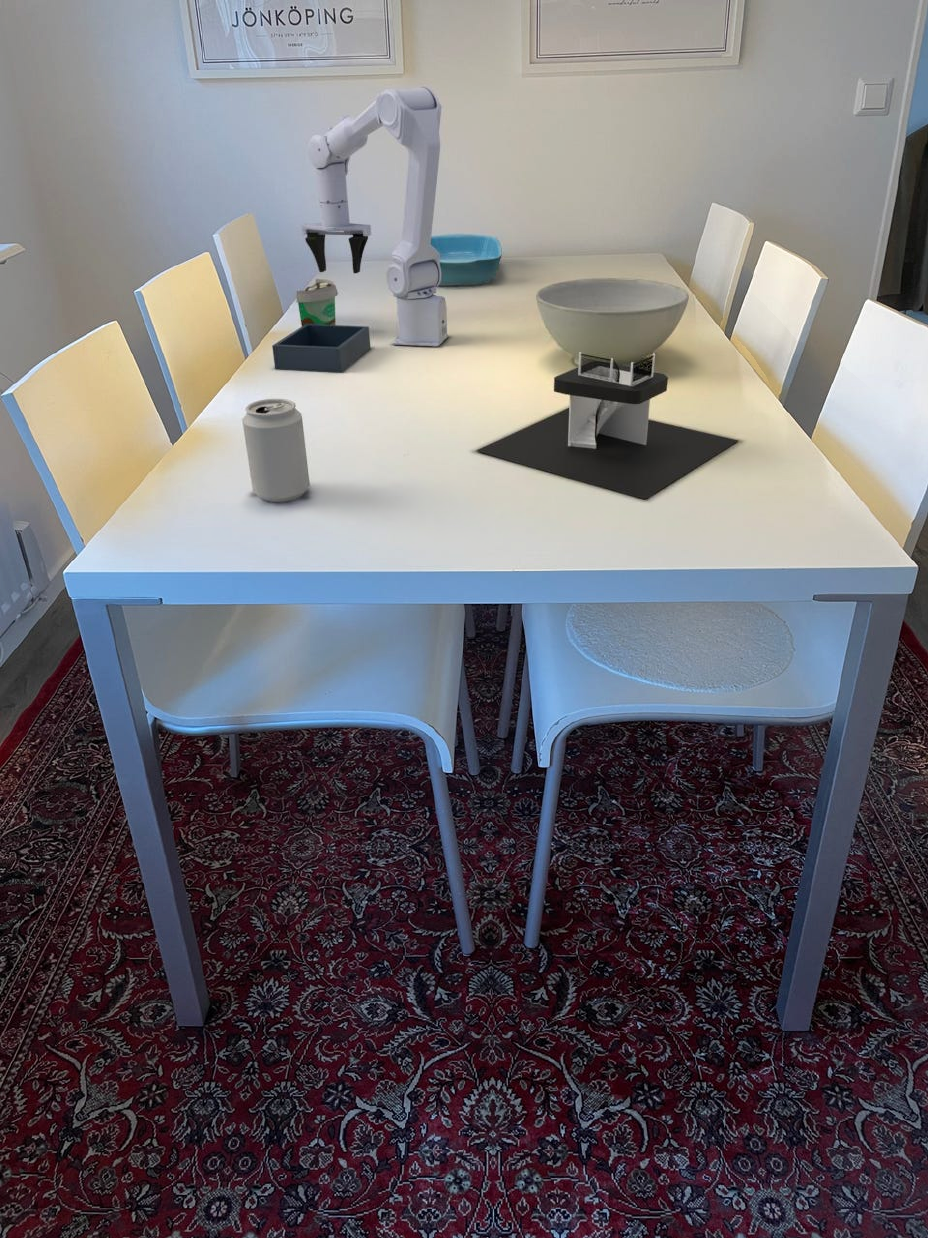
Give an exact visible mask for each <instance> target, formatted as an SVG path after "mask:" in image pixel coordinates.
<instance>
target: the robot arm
mask: <svg viewBox="0 0 928 1238" xmlns="http://www.w3.org/2000/svg"><path fill="white" fill-rule="evenodd" d="M441 114H442V104H441V102H440V100H439V98H437V96H436V93H435V92H434V91H433V89H432V88H430V87H428V86H421V87H414V88H397V89H394V88H386V89H384V90H383V91H382V92H380V93H379V94H376V95H375V99H374V101H373V102H372V103H370V104H369V105H368V107H366V109H364V110H363V111H362V112H361V113H360V114H359V115H358V116H357V117H356V116H352V115H342V116H341V117H339V121H340V122H339V123H337V124H336V125H335V126H333V127H329V128H328V129H327V131H326V133H325V134H324V135H320V134H314V135H312V137H311V138H310V140H309V143H308V148H307V150H308V152H307V153H308V157H309V160H310V163H311V164H312V166H314V167H315V170H316V180H317V190H318V191H317V192H318V201H319V202H318V203H319V211H320V222H319V223H318V222H313V223H310V222H309V223H303V224H300V229H301V235H302V236H306V237H305V238H304V239H305V243H306V244H307V246H308V247H309V249H310V251H311V253H312V255H313V257H314V259H315V263H316V265H317V269H318V272H319V273H324V272H326V271H327V262H326V253H325V252H326V251H325V250H326V249H325V248H326V244H325V243H326V236H350V237H349V238H348V243H349V247H350V252H351V260H352V271H353V274H359V273H360V272H361V266H362V265H361V264H362V259H363V255H364V251H365V247H366V245H367V242H368V240H369V237H370V236H371V235H372V225H371V224H364V223H352V222H350V211H349V199H348V188H347V186H348V185H347V176H348V173H349V163H350V160H351V156H352V155H354V154H355V153H357V152H359V150H361V149H362V148H363V147H365V146H366V144H368V138H369V135H371V134H372V133H374V132H375V131H377V130H378V129H380V128H382V127H384V128H385V129H386V130H387V132H389V133H390V135H392V136H393V138H394V139H395V140H396V141H397V142H398V143H399V144H400V145H402V146H404V147H405V149H406V151H407V152H408V159H407V168H406V169H407V171H406V181H405V184H406V185H405V194H404V195H405V196H404V209H403V218H402V219H403V220H402V233H401V241H400V242H399V244H398V245H397V246H396V247H395V249H393V251H392V252H391V254H390V262H389V265H388V266H387V269H386V274H385V276H386V277H385V278H386V284H387V286H388V289H389V291H390V292H391V293H392V294H393V297H395V298H396V309H397V310H396V311H397V326H398V327H397V328H398V329H397V330H398V336H397V337H396V338H395V339H394V340H393V341H392V345H395V346H396V345H397V346H398V345H399V346H415V347H416V346H418V347H439V346H440V345H441V344H442V343H443V342H444V341H446V339H448V337H449V333H448V317H447V316H448V314H447V301H446V298H445V297H444V296H442V295H436V294H437V288H438V287H440V286H439V284H440V282H441V268H440V253H439V252H438V251H437V250H436V249H435V248H434V247H433V246H432V245H431V236H432V234H433V233H432V232H433V223H434V213H435V202H436V193H437V182H438V173H439V162H440V153H441V137H440V126H441V116H442V115H441Z"/></svg>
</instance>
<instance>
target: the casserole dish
mask: <svg viewBox="0 0 928 1238" xmlns="http://www.w3.org/2000/svg"><path fill="white" fill-rule="evenodd" d="M431 245H432V246H433V247H434V248H435V249H436V250H437V251H438V252H439V253H440V268H441V282H440V284H439V286H438V287H456V286H461V287H463V286H464V287H465V286H481V285H486V284H489V283H490V282H491V281H492V280H493V279H494V278H495V277H496V275H497V272H498V269H499V266H500V262H501V259H502V256H503V248H502V245H501V241H500V239H499V238H498V237H496V236H492V235H482V234H472V233H471V234H469V233H452V234H450V233H449V234H440V235H431Z"/></svg>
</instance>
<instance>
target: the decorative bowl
mask: <svg viewBox="0 0 928 1238" xmlns="http://www.w3.org/2000/svg"><path fill="white" fill-rule="evenodd" d="M689 299H690V297H689V293H688V292H687V291H686V289H683V288H681V287H679V286H676V285H674V284H671V283H668V282H667V283H666V282H661V281H655V280H649V279H641V278H627V277H626V278H625V277H599V278H598V277H595V278H593V277H592V278H582V279H581V278H580V279H572V280H565V281H560V282H556V283H552V284H549V285H547V286H546V285H545V286H543V287H542V288H540V289H539V290H537V292H536V294H535V300H536V306H537V309H538V312H539V315H540V318H541V320H542V323H543V325H544V327H545V329H546V330H547V332H548V334H549V335H550V337H551V338H552V340H553V341H554V342H555V343H556V344H557V346H558V347H560V348H561V350H563V351H565V352H566V353H567V354H568V355H570V356H572V357H573V362H574V363H575V365H577V366H579V352H582V354H586V355H591V356H596V357H601V358H606V359H611V358H613V360H614V361H615V363H616V364H617V365H622V366H627V367H631V362H634V364H635V363H637V362H639V361H641V360H644V359H645V358H647V356H649V355H651V354H653V353H654V352H655V351H657V350H658V349H660V348H661V347H662V345H663V344H664V343H666V341H667V340H668V339H669V338H670V337H671V335H672V334H673V332H675V330H676V328H677V327H678V325H679V324H680V321H681V320H682V317H683V316H684V314H685V310H686V308H687V306H688V303H689ZM581 358H582V359H583V358H584V356H583V355H582V357H581ZM586 359H588V360H589V359H590V357H589V356H586ZM586 359H585V362H586V364H587V360H586ZM592 360H596V358H595V357H592ZM592 360H591V362H592ZM598 361H601V359H600V358H598ZM603 362H607V361H606V360H605V359H603ZM608 363H611V361H610V360H608ZM615 363H614V362H613V364H615ZM583 364H584V362H583ZM639 364H640V363H639ZM639 364H638V366H639ZM581 366H582V364H581ZM635 367H636V364H635V366H634V368H635Z"/></svg>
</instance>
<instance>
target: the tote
mask: <svg viewBox="0 0 928 1238" xmlns="http://www.w3.org/2000/svg"><path fill="white" fill-rule="evenodd" d="M271 348H272V355H273V363H274V364H273V365H274V369H275V370H286V371H288V370H289V371H305V372H306V371H307V372H308V371H309V372H327V373H343V372H344V371H345V370H347V369H348V368H349V367H350V366H352V365H353V364H354V363H355V362H356V361H357V360H359V359H360V358H361V357H362V356H364V355H365V354H366V353H367V352H369V351H370V350H371V348H372V347H371V337H370V327H369V326H368V325H367V326H366V325H365V326H364V325H343V324H335V325H323V324H305V325H303V326H300V327H299V328H297V329H295V330H293V331H292V332H291V333H290V334H288V335H286V336H285V337H283V338H282V339H280V340H279V341H277V342H276V343H273V344H272V347H271Z"/></svg>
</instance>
